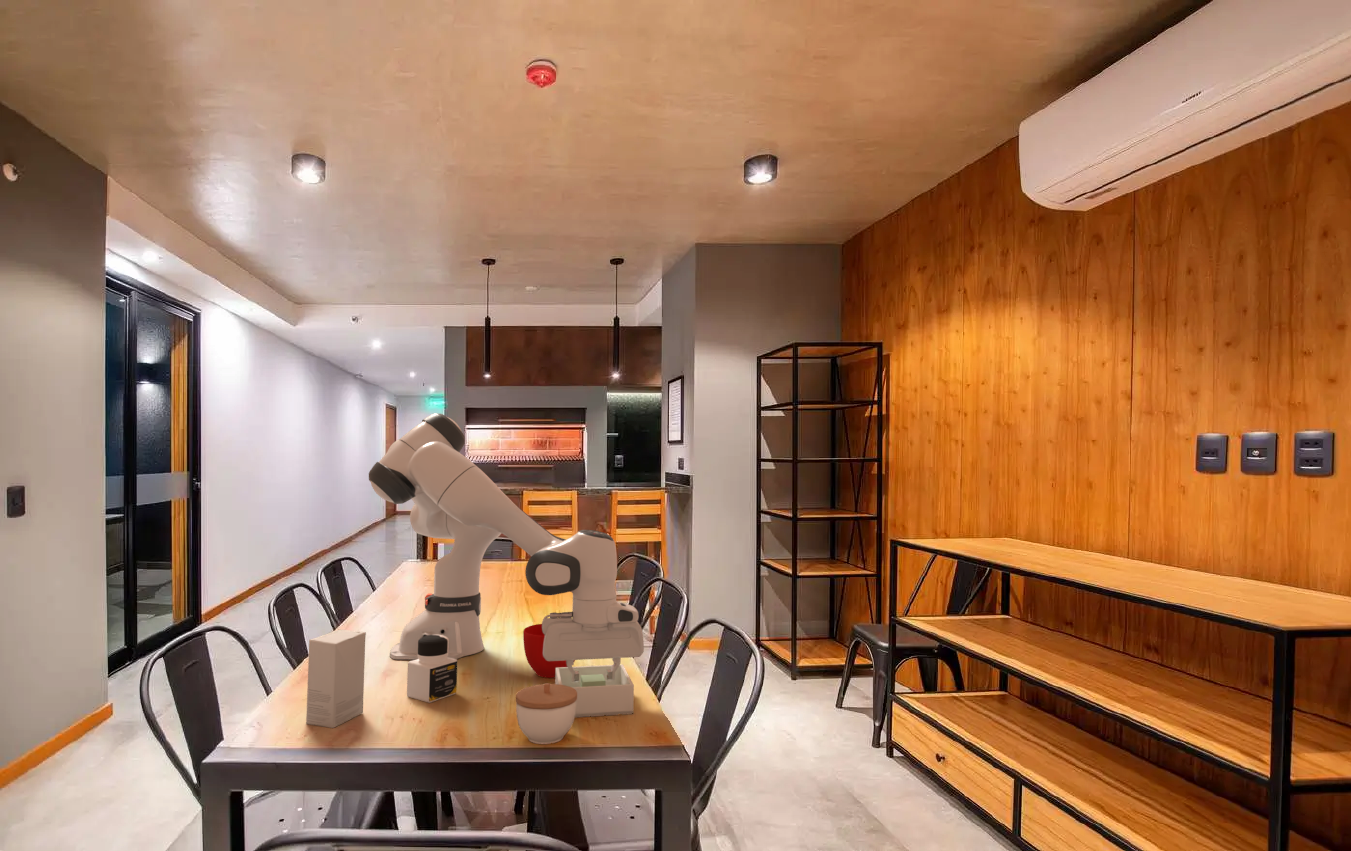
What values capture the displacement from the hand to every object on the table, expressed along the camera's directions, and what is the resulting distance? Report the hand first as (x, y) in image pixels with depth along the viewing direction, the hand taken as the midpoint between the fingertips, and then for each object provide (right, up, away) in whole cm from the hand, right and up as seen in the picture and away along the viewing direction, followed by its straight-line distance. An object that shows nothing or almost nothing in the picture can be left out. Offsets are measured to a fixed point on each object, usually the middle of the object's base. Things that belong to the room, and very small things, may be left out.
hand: (592, 680), depth 146 cm
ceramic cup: (-12, -6, +22) cm, 25 cm away
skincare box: (-47, -4, -11) cm, 48 cm away
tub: (0, -5, 0) cm, 5 cm away
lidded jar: (-6, -4, -18) cm, 19 cm away
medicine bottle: (-34, -5, +4) cm, 34 cm away
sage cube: (0, -4, 0) cm, 4 cm away
